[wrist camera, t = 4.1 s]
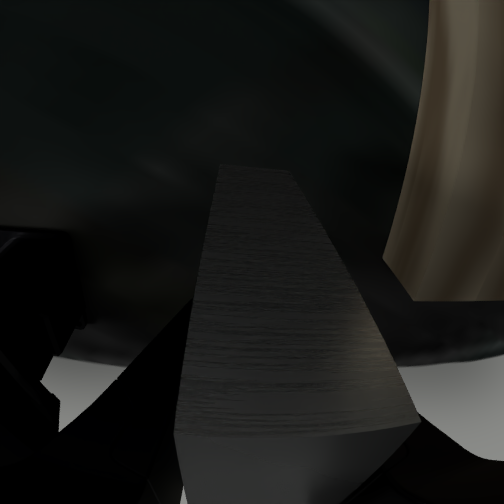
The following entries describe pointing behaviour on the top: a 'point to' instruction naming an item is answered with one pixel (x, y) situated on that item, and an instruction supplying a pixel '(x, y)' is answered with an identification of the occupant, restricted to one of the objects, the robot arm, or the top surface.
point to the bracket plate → (281, 358)
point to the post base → (455, 162)
